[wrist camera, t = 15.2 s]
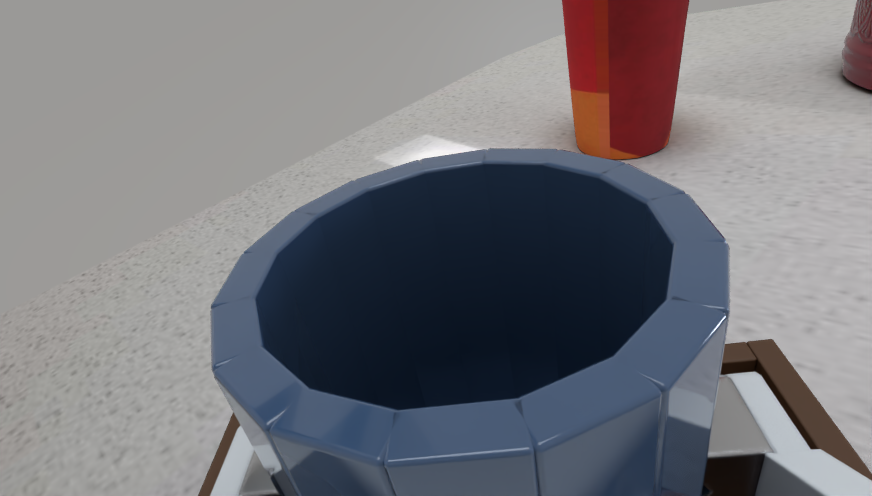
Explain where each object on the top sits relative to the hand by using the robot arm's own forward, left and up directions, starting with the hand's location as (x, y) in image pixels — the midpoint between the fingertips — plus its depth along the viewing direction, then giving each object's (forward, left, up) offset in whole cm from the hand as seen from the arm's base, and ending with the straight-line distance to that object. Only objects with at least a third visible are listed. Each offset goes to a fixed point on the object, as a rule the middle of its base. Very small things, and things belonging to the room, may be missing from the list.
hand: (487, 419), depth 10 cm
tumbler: (0, -1, -5) cm, 6 cm away
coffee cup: (+10, +28, -7) cm, 31 cm away
